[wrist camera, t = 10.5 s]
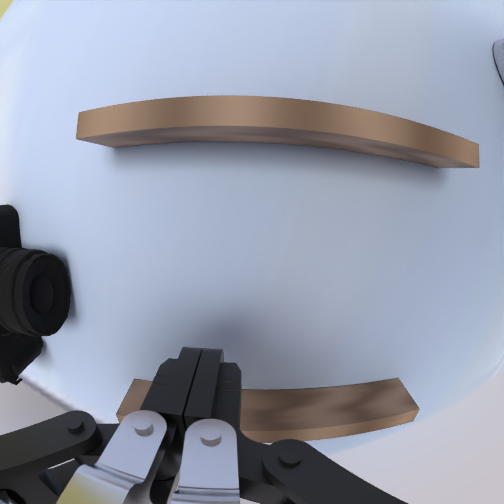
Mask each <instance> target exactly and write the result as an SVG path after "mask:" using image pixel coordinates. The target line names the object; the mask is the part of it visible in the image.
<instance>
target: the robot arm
mask: <svg viewBox="0 0 504 504" xmlns="http://www.w3.org/2000/svg"><path fill="white" fill-rule="evenodd" d="M493 50H494V57H495V61H496V64H497V67H498V70H499V73H500V75H501V78H502V80H503V82H504V39H501V40H499V41H497V42H495V44H494V47H493ZM240 417H241V370H240V369H239V367H238V365H237V364H236V363H226V362H224V354H223V349H207V348H204V349H202V348H191V347H183V348H182V350H181V353H180V355H179V357H178V359H171V358H169V359H168V360H166V361H165V362H164V363H163V364H162V365H160V367H159V369H158V371H157V373H156V376H155V378H154V380H153V383H152V384H151V386H150V388H149V390H148V393H147V395H146V397H145V399H144V401H143V403H142V405H141V408H140V410H139V411H135V412H132V413H130V414H128V415H127V416H126V417H125V418H124V419H123V420H122V422H121V423H119V424H96V422H95V420H94V418H93V417H92V416H91V415H90V414H88V413H87V412H84V411H78V410H77V411H70V412H67V413H64V414H62V415H59V416H56V417H54V418H51V419H48V420H46V421H43V422H40V423H37V424H34V425H31V426H29V427H26V428H23V429H20V430H17V431H14V432H10V433H7V434H4V435H0V504H240V498H243V499H246V500H249V501H253V502H257V503H260V504H408V503H406V502H404V501H402V500H400V499H397V498H396V497H393V496H392V495H390V494H388V493H386V492H384V491H382V490H380V489H378V488H377V487H375V486H373V485H371V484H370V483H368V482H366V481H364V480H363V479H361V478H359V477H358V476H356V475H354V474H353V473H351V472H349V471H348V470H346V469H345V468H343V467H341V466H340V465H338V464H337V463H335V462H334V461H332V460H331V459H329V458H328V457H326V456H325V455H323V454H322V453H320V452H319V451H318V450H316V449H315V448H313V447H312V446H310V445H309V444H307V443H306V442H303V441H300V440H296V439H283V440H279V441H276V442H274V443H272V444H271V445H267V444H263V443H259V442H256V441H253V440H251V439H249V438H248V437H246V436H245V435H244V434H243V433H242V432H241V430H240ZM73 458H74V459H75V460H72V461H70V462H68V463H65V464H62V465H60V466H57V467H55V468H52V469H47V468H50V467H52V466H55V465H58V464H60V463H63V462H65V461H68V460H70V459H73ZM180 467H181V468H180ZM178 483H179V487H178V490H177V491H176V489H177V486H178Z"/></svg>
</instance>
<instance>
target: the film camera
mask: <svg viewBox="0 0 504 504" xmlns="http://www.w3.org/2000/svg"><path fill="white" fill-rule="evenodd" d="M70 295H71V291H70V284H69V277H68V273H67V270H66V268H65V266H64V265H63V263H62V262H61V261H60V260H59V259H58V258H57V257H55V256H54V255H52V254H48V253H47V252H44V251H41V250H28V249H25V248H22V247H21V240H20V230H19V217H18V213H17V211H16V210H15V209H14V208H13V207H12V206H11V205H10V206H9V205H0V382H1V383H5V382H10V383H12V384H15V385H17V384H18V383H19V382H20V381H22V380H23V379H21V378H20V379H19V380H17V379H18V378H19V377H18V375H19V374H20V373H21V372H22V371H23V370H24V369H25V368H26V367H27V366H28V365H29V364H30V363H31V362H32V361H33V360H34V359H35V358H36V357H38V356H39V355H40V353H41V349H42V347H43V342H42V339H41V336H50V335H52V334H55V333H56V332H58V330H59V329H60V328H61V326H62V325H63V323H64V322H65V320H66V318H67V316H68V311H69V306H70ZM16 380H17V381H16Z"/></svg>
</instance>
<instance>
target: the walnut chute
mask: <svg viewBox="0 0 504 504" xmlns="http://www.w3.org/2000/svg"><path fill="white" fill-rule="evenodd" d="M76 139H78V140H82V141H87V142H91V143H96V144H100V145H104V146H108V147H122V146H132V145H144V144H157V143H175V142H260V143H279V144H293V145H305V146H315V147H324V148H333V149H341V150H348V151H355V152H362V153H368V154H374V155H380V156H385V157H391V158H396V159H401V160H406V161H411V162H415V163H420V164H424V165H428V166H432V167H436V168H479V144H476V143H474V142H472V141H469V140H467V139H464V138H461V137H459V136H456V135H454V134H451V133H448V132H445V131H442V130H439V129H436V128H433V127H430V126H427V125H424V124H421V123H417V122H414V121H410V120H407V119H403V118H399V117H396V116H392V115H388V114H383V113H379V112H375V111H370V110H365V109H360V108H355V107H350V106H344V105H338V104H332V103H325V102H318V101H310V100H301V99H291V98H279V97H262V96H193V97H177V98H165V99H155V100H146V101H139V102H131V103H125V104H119V105H113V106H107V107H102V108H97V109H92V110H88V111H83V112H79V115H78V124H77V133H76ZM152 383H153V382H151V381H145V380H138V379H134V380H133V382H132V384H131V386H130V388H129V390H128V392H127V394H126V396H125V398H124V399H123V401H122V403H121V405H120V407H119V409H118V411H117V413H116V415H117V418H118V420H119V423H121V422H122V420H123V419H124V418H125V417H126V416H127V415H128V414H130V413H132V412H135V411H139V410H140V408H141V405H142V403H143V401H144V399H145V397H146V395H147V393H148V390H149V388H150V386H151V384H152ZM418 411H419V407H418V406H417V404H416V403H415V401H414V400H413V398H412V397H411V395H410V394H409V393H408V391H407V390H406V388H405V387H404V385H403V384H402V383H401V381H400V380H399V378H395V379H389V380H383V381H377V382H370V383H363V384H355V385H346V386H337V387H325V388H311V389H289V390H241V417H240V430H241V432H242V433H243V434H244V435H245V436H246V437H248V438H249V439H251V440H253V441H256V442H259V443H274V442H276V441H279V440H283V439H296V440H300V441H310V440H320V439H328V438H336V437H343V436H349V435H355V434H361V433H366V432H371V431H376V430H380V429H385V428H389V427H393V426H397V425H401V424H405V423H408V422H412V421H413V420H414V419H415V417H416V415H417V413H418Z"/></svg>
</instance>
